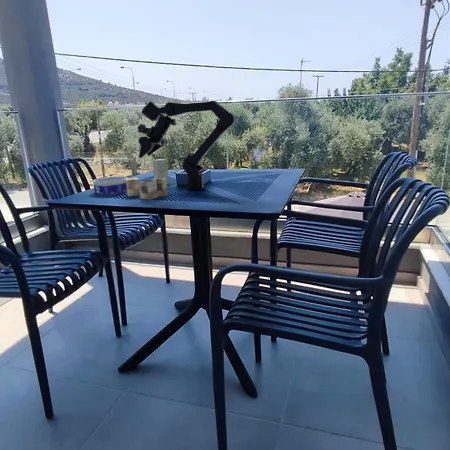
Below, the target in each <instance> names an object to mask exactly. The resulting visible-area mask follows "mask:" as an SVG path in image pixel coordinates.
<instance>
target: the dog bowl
mask: <svg viewBox="0 0 450 450" xmlns="http://www.w3.org/2000/svg"><path fill="white" fill-rule="evenodd" d="M126 178H128V177H127V176H122V175H121V176H120V175H119V176H118V175H115V176H105V177H100V178H95V179H93V180H92V183H93V189H94V194H95V195H100V196H108V195H109V196H110V195H117V194H122V193H123V194H124V193H127V186H126Z"/></svg>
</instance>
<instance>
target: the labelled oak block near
mask: <svg viewBox="0 0 450 450" xmlns="http://www.w3.org/2000/svg"><path fill="white" fill-rule="evenodd" d="M138 184H139V193H140V195H139V196H140V199H141V200H149V201H150V200H153V199H156V198H158V197H159V196H158V192H157V182H156V180H153V179H145V180H142V181H138Z"/></svg>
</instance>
